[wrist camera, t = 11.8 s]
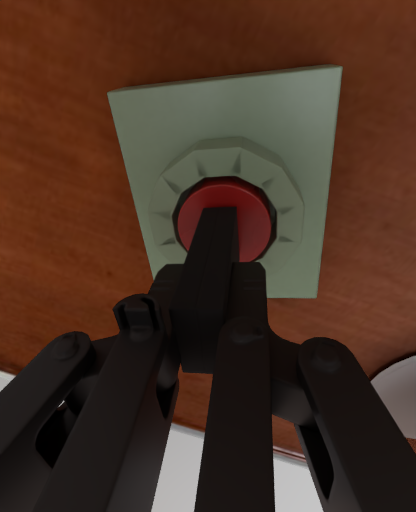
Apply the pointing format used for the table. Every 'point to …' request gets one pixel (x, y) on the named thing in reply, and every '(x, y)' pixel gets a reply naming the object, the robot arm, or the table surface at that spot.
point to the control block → (236, 159)
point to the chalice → (399, 394)
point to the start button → (229, 195)
